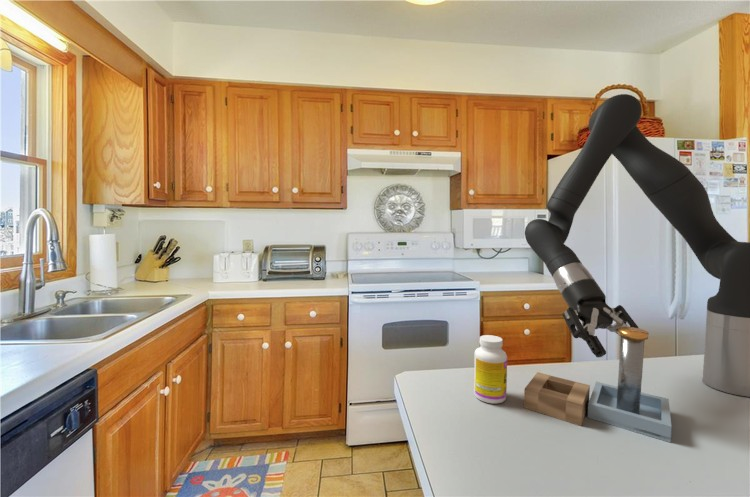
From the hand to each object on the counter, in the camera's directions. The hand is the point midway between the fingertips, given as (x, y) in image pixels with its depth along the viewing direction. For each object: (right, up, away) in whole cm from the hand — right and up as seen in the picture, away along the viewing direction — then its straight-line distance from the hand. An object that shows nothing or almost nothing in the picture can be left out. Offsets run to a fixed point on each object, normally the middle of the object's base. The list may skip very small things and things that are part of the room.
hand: (620, 354), depth 67 cm
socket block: (-12, -11, +2) cm, 16 cm away
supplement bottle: (-24, -11, +6) cm, 27 cm away
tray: (+1, -11, -1) cm, 11 cm away
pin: (0, -10, -1) cm, 11 cm away
